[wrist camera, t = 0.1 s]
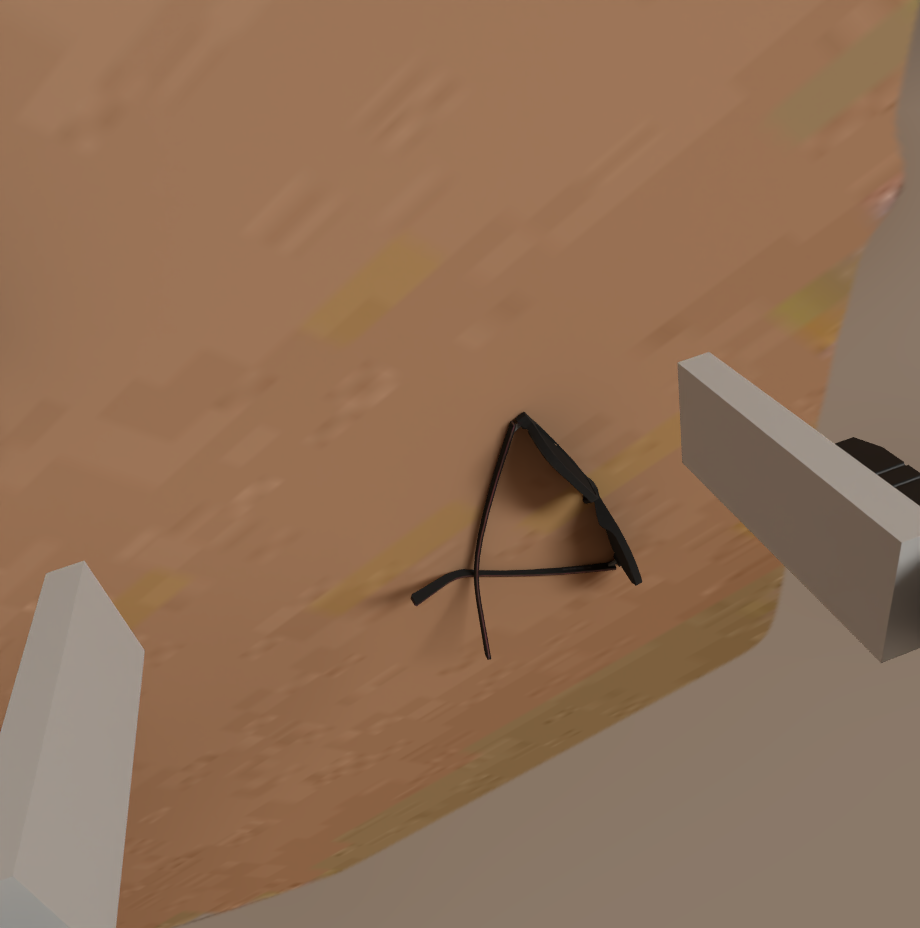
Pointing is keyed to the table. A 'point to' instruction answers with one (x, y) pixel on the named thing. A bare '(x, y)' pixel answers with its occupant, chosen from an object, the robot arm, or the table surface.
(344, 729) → the table surface
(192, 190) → the table surface
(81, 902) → the robot arm
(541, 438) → the sunglasses
